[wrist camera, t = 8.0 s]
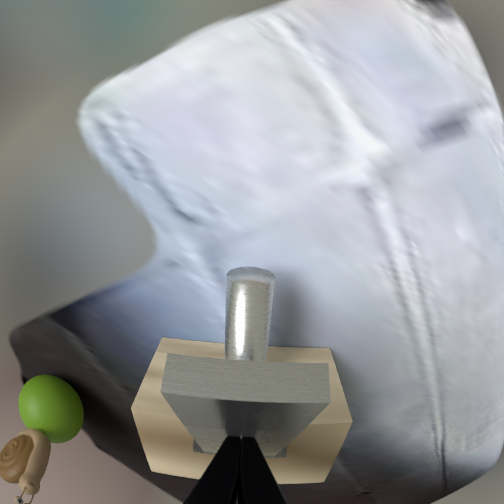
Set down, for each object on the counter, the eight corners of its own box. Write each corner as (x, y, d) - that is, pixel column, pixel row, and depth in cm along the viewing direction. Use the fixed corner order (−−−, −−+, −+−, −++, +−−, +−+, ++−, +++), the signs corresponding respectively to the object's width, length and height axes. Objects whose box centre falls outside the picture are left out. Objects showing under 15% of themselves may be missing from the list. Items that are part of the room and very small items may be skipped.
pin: (268, 435, 19) (269, 481, 15) (211, 432, 19) (205, 477, 15) (293, 261, 15) (305, 301, 11) (210, 256, 15) (194, 294, 11)
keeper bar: (284, 441, 12) (283, 459, 12) (196, 435, 12) (194, 453, 12) (352, 360, 6) (357, 403, 5) (143, 347, 5) (133, 389, 5)
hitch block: (312, 413, 20) (323, 482, 14) (171, 404, 20) (151, 471, 14) (329, 347, 18) (352, 422, 12) (162, 337, 18) (130, 408, 12)
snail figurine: (114, 405, 20) (60, 532, 9) (67, 413, 21) (13, 513, 10) (71, 352, 18) (-15, 476, 7) (28, 367, 19) (-44, 464, 8)
